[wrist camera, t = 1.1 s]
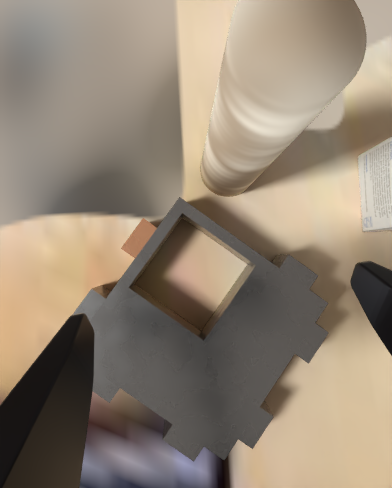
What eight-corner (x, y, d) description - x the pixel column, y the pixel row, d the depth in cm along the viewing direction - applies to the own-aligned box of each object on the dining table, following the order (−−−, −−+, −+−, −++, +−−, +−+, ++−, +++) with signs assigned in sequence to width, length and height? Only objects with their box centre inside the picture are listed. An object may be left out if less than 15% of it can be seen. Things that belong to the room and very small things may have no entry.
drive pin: (265, 163, 23) (392, 22, 9) (234, 207, 23) (316, 130, 9) (220, 131, 23) (281, -59, 9) (189, 175, 23) (202, 47, 9)
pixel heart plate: (332, 294, 23) (350, 299, 20) (223, 459, 22) (228, 485, 19) (176, 182, 23) (175, 173, 20) (58, 344, 22) (42, 356, 19)
